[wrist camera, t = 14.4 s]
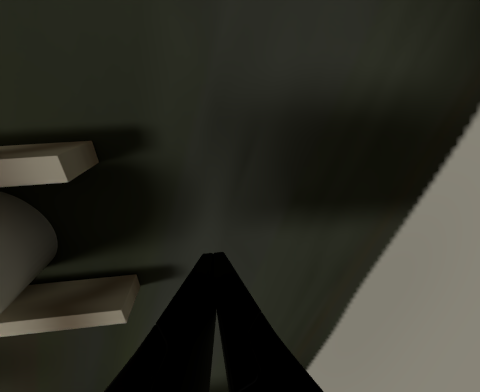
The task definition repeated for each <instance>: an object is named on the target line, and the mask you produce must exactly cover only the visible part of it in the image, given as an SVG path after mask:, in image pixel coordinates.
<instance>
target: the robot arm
mask: <svg viewBox="0 0 480 392" xmlns="http://www.w3.org/2000/svg"><path fill="white" fill-rule="evenodd" d="M216 309H217V316H218V323H219V330H220V336H221V343H222V350H223V356H224V363H225V369H226V376H227V383H228V389H229V392H323V391H322V389H321V388H320V387H319V386H318V385H317V383H316V382H315V381H314V380H313V379H312V377H311V376H310V375H309V374H308V373H307V371H306V370H305V369H304V368H303V366H302V365H301V364H300V363H299V362H298V360H297V359H296V358H295V357H294V356H293V354H292V353H291V352H290V351H289V350H288V348H287V347H286V346H285V344H284V343H283V342H282V341H281V339H280V338H279V337H278V335H277V334H276V333H275V331H274V330H273V328H272V327H271V325H270V324H269V322H268V321H267V319H266V318H265V316H264V315H263V313H262V312H261V310H260V309H259V307H258V305H257V304H256V302H255V301H254V299H253V297H252V296H251V294H250V293H249V291H248V290H247V288H246V286H245V285H244V283H243V282H242V280H241V279H240V277H239V275H238V274H237V272H236V271H235V269H234V268H233V266H232V264H231V263H230V261H229V260H228V258H227V257H226V255H225V253H224V252H217V253H214V254H213V253H207V254H203V255H202V256H201V257H200V259H199V260H198V262H197V263H196V265H195V266H194V268H193V269H192V271H191V272H190V274H189V275H188V277H187V278H186V279H185V281H184V282H183V284H182V285H181V287H180V288H179V290H178V291H177V293H176V294H175V296H174V297H173V299H172V300H171V302H170V303H169V305H168V306H167V308H166V309H165V311H164V312H163V313H162V315H161V316H160V318H159V319H158V321H157V322H156V325H154V327H153V328H152V330H151V331H150V333H149V334H148V335H147V337H146V338H145V340H144V341H143V342H142V344H141V345H140V347H139V348H138V349H137V351H136V352H135V353H134V355H133V356H132V357H131V359H130V360H129V361H128V362H127V364H126V365H125V366H124V367H123V369H122V370H121V371H120V372H119V374H118V375H117V376H116V377H115V379H114V380H113V381H112V382H111V383H110V385H109V386H108V387H107V388H106V390H105V391H104V392H209V387H210V377H211V366H212V355H213V344H214V333H215V322H216Z"/></svg>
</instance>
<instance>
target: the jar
mask: <svg viewBox="0 0 480 392" xmlns="http://www.w3.org/2000/svg"><path fill="white" fill-rule="evenodd" d="M57 248H58V241H57V236H56V233H55V231H54V229H53V227H52V225H51V224H50V223H49V221H48V220H47V219H46V218H45V217H44V215H42V214H41V213H40V212H39V211H38V210H37V209H35V208H34V207H33V206H31V205H30V204H28V203H27V202H25V201H23V200H21V199H19V198H17V197H15V196H13V195H10V194H7V193H4V192H1V191H0V314H1V313H2V312H3V311H4V310H5V309H6V308H7V307H8V306H9V305H10V304H11V302H12V301H13V300H14V299H15V298H16V297H17V296H18V295H19V294H20V293H21V292H22V291H23V290H24V289H25V288H26V287H27V286H28V285H29V284H30V283H31V282H32V281H33V280H34V278H35V277H36V276H37V275H38V274H39V273H40V272H41V271H42V270H43V269H44V268H45V267H46V266H47V265H48V264H49V263H50V262H51V261H52V260H53V258H54V257H55V255H56V252H57Z"/></svg>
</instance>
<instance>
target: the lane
mask: <svg viewBox="0 0 480 392" xmlns="http://www.w3.org/2000/svg"><path fill="white" fill-rule="evenodd" d="M97 163H99V161H98V158H97V155H96V152H95V149H94V146H93V143H92V141H78V142H62V143H45V144H28V145H11V146H0V187H10V186H24V185H38V184H52V183H66V182H70V181H71V180H73V179H74V178H76V177H77V176H79V175H80V174H82V173H83V172H85V171H87V170H88V169H90V168H91V167H93V166H94V165H96V164H97ZM139 288H140V284H139V281H138V278H137V275H136V274H135V275H125V276H115V277H105V278H95V279H84V280H74V281H64V282H54V283H44V284H34V285H28V286H27V287H26V288H25V289H24V290H23V291H22V292H21V293H20V294H19V295H18V296H17V297H16V298H15V299H14V300H13V301H12V302H11V304H10V305H9V306H8V307H7V308H6V309H5V310H4V311H3V312H2V313H1V314H0V337H5V336H14V335H22V334H31V333H40V332H49V331H58V330H67V329H76V328H85V327H94V326H102V325H111V324H120V323H127V320H128V317H129V315H130V312H131V309H132V307H133V304H134V302H135V299H136V296H137V294H138V291H139Z"/></svg>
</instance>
